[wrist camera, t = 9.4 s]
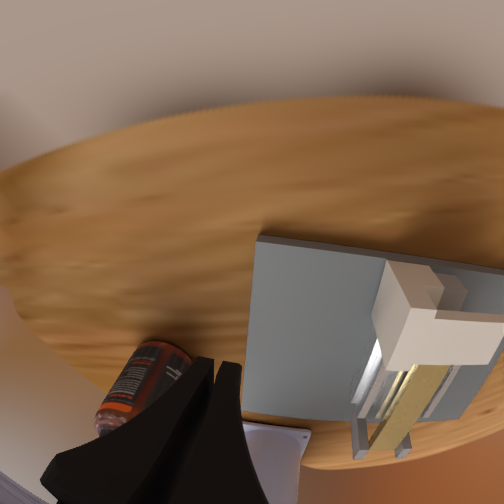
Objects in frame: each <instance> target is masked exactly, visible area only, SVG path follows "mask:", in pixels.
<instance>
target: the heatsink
mask: <svg viewBox="0 0 504 504" xmlns="http://www.w3.org/2000/svg"><path fill="white" fill-rule="evenodd" d="M460 367H461V365H451V366H450V368H449V369H448V371H447V373H446V375H445V376H444V378H443V380H442V382H441V383H440V385H439V387H438V388H437V390H436V392H435V393H434V395H433V396H432V398H431V400H430V401H429V403H428V404H427V406H426V407H425V409H424V410H423V412H422V413H421V415H422V418H428V417H429V416H430V415H431V413H432V412H433V410H434V409H435V407H436V406H437V404H438V403H439V401H440V400H441V398H442V396H443V395H444V393H445V392H446V390H447V389H448V387H449V385H450V384H451V382H452V380H453V379H454V377H455V375H456V374H457V372H458V370H459V368H460ZM408 372H409V371H390V370H385V366H384V362H383V358H382V354H381V350H380V346H379V342H378V339H377V335H376V331H375V328H374V325H373V328H372V331H371V334H370V337H369V339H368V342H367V345H366V348H365V351H364V353H363V356H362V359H361V361H360V364H359V366H358V369H357V372H356V374H355V377H354V379H353V382H352V384H351V387H350V389H349V391H350V401H351V403H356V412H357V418H365V417H366V415H367V413H368V411H369V409H370V407H371V405H372V406H373V412H374V419H382V417H383V416H384V414H385V412H386V410H387V409H388V407H390V405H391V404H392V402H393V400H394V398H395V397H396V395H397V393H398V391H399V389H400V387H401V385H402V384H403V382H404V380H405V378H406V376H407V374H408Z"/></svg>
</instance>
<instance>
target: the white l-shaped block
mask: <svg viewBox="0 0 504 504" xmlns="http://www.w3.org/2000/svg"><path fill="white" fill-rule="evenodd" d="M444 288H445V287H444V286H443V285H442V283H441V282H440V280H439V279H438V278H437V276H436V275H435V274H434V272H433V271H432V269H431V268H430V267H429V266H427V265H419V264H412V263H405V262H398V261H391V260H386V264H385V268H384V272H383V275H382V279H381V283H380V286H379V290H378V293H377V296H376V300H375V303H374V306H373V310H372V313H371V317H372V321H373V324H374V328H375V331H376V335H377V339H378V342H379V346H380V350H381V354H382V358H383V362H384V366H385V370H390V371H411V369H412V367H413V365H486V364H488V363H489V362H490V360H491V358H492V356H493V355H494V353H495V351H496V349H497V347H498V346H499V344H500V342H501V340H502V338H503V336H504V315H502V314H487V313H474V312H461V311H448V310H437V307H438V304H439V302H440V299H441V296H442V294H443V291H444Z"/></svg>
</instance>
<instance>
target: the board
mask: <svg viewBox="0 0 504 504" xmlns="http://www.w3.org/2000/svg"><path fill="white" fill-rule="evenodd" d="M386 260H391V261H398V262H405V263H412V264H419V265H427V266H429V267H430V268H431V269H432V271H433V272H434V274H435V275H436V276H437V278H438V279H439V280H440V282H441V283H442V285H443V286H444V287H445V288H444V291H443V294H442V296H441V299H440V302H439V304H438V307H437V310H448V311H461V312H474V313H487V314H502V315H504V269H498V268H491V267H485V266H479V265H473V264H466V263H460V262H453V261H447V260H440V259H434V258H427V257H420V256H414V255H407V254H400V253H393V252H386V251H379V250H372V249H365V248H358V247H350V246H343V245H336V244H328V243H321V242H313V241H306V240H298V239H290V238H283V237H275V236H267V235H259V234H258V237H257V240H256V245H255V257H254V268H253V280H252V291H251V303H250V314H249V325H248V337H247V348H246V359H245V370H244V381H243V393H242V404H241V411H247V412H253V413H260V414H267V415H274V416H282V417H291V418H301V419H311V420H324V421H340V422H351V434H352V449H353V460H363V458H364V457H365V455H366V454H367V452H368V451H369V444H368V434H367V425H366V423H380V422H381V421H382V419H383V417H384V416H385V414H386V412H387V411H388V409H389V407H388V409H387V410H386V412H385V414H384V416H383V417H382V419H374V412H373V406H372V405H371V407H370V409H369V411H368V413H367V415H366V417H365V418H357V412H356V403H351V401H350V391H349V389H350V387H351V384H352V382H353V379H354V377H355V374H356V372H357V369H358V366H359V364H360V361H361V359H362V356H363V353H364V351H365V348H366V345H367V342H368V339H369V337H370V334H371V331H372V328H373V325H374V324H373V321H372V317H371V313H372V310H373V306H374V303H375V300H376V296H377V293H378V290H379V286H380V283H381V279H382V275H383V272H384V268H385V264H386ZM503 350H504V336H503V338H502V340H501V342H500V344H499V346H498V347H497V349H496V351H495V353H494V355H493V356H492V358H491V360H490V362H489V363H488V364H486V365H461V367H460V368H459V370H458V372H457V374H456V375H455V377H454V379H453V380H452V382H451V384H450V385H449V387H448V389H447V390H446V392H445V393H444V395H443V396H442V398H441V400H440V401H439V403H438V404H437V406H436V407H435V409H434V410H433V412H432V413H431V415H430V416H429V417H428V418H422V415H420V416H419V418H418V419H417V421H416V422H427V421H442V420H454V419H459V418H460V416H461V415H462V414H463V412H464V411H465V410H466V408H467V407H468V405H469V404H470V403H471V401H472V400H473V398H474V397H475V395H476V394H477V392H478V391H479V389H480V388H481V386H482V385H483V383H484V382H485V380H486V378H487V377H488V375H489V374H490V372H491V370H492V369H493V367H494V365H495V364H496V362H497V360H498V359H499V357H500V355H501V353H502V351H503ZM411 449H412V446H411V441H410V436H409V432H408V433H407V435H406V436H405V438H404V439H403V440H402V442H401V443H400V444H399V446H398V447H397V448H396V449H394V451H395V458H396V459H400V458H405V457H406V455H407V454H408V453H409V452H410V450H411Z"/></svg>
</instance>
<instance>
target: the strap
mask: <svg viewBox="0 0 504 504" xmlns="http://www.w3.org/2000/svg"><path fill="white" fill-rule="evenodd" d="M450 366H451V365H413V367H412V369H411V371H409V372H408V374H407V376H406V378H405V380H404V382H403V384H402V385H401V387H400V389H399V391H398V393H397V395H396V397H395V398H394V400H393V402H392V404H391V405H390V407H389V409H388V411H387V412H386V414H385V416H384V417H383V419H382V421H381V422H380V424H379V426H378V427H377V429H376V431H375V432H374V434H373V435H372V437H371V438H370V440H369V442H368V444H369V450H394V449H396V448H397V447H398V446H399V444H400V443H401V442H402V440H403V439H404V438H405V436H406V435H407V433H408V432H409V431H410V429H411V428H412V426H413V425H414V424H415V422H416V421H417V419H418V418H419V416H420V415H421V413H422V412H423V410H424V409H425V407H426V406H427V404H428V403H429V401H430V400H431V398H432V396H433V395H434V393H435V392H436V390H437V388H438V387H439V385H440V383H441V382H442V380H443V378H444V376H445V375H446V373H447V371H448V369H449V368H450Z"/></svg>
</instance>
